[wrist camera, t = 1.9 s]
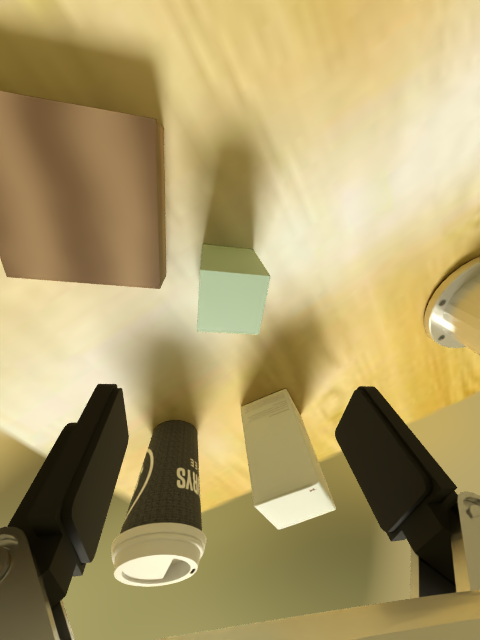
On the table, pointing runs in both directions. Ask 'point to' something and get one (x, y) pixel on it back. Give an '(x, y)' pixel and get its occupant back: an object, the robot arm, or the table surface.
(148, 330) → the table surface
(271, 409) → the supplement box
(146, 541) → the coffee cup
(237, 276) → the sage block
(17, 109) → the block
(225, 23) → the table surface
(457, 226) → the table surface
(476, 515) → the robot arm
